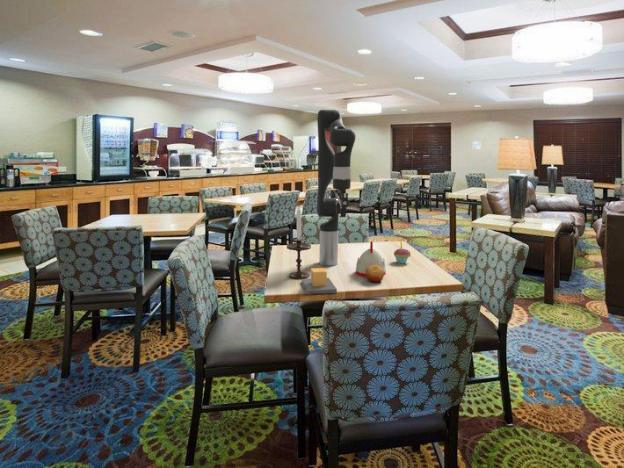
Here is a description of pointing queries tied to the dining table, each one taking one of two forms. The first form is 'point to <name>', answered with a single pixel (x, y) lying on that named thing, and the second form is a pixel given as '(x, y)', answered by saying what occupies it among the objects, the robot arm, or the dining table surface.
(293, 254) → the dining table surface
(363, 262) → the kitchen timer
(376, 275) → the fruit
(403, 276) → the dining table surface
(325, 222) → the robot arm
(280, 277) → the dining table surface
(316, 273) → the peach colored cube
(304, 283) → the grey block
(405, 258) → the cupcake
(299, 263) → the candlestick
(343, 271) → the dining table surface
